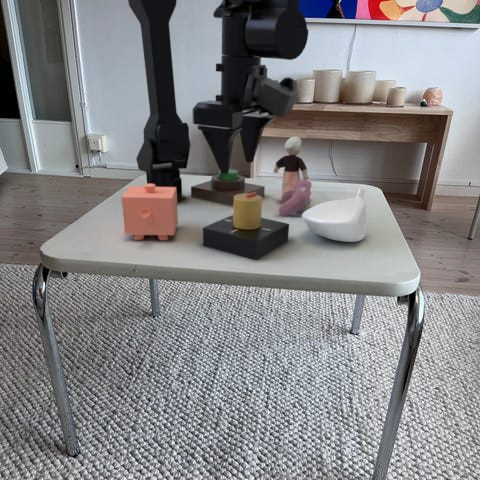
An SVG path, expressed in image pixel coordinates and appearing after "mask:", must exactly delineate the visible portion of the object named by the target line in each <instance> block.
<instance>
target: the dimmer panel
mask: <svg viewBox="0 0 480 480" xmlns="http://www.w3.org/2000/svg"><path fill="white" fill-rule="evenodd" d="M289 230H290V223H286V222H283V221H277V220H273V219H270V218H269V219H268V218H265V217H261V226H260V227H259V228H257V229H252V230H244V229H238V228H236V227H234V226H233V214H231V215H229V216H227V217H225V218H222V219H219V220H217V221H215V222H212V223H211V224H208V225H205V226H203V227H202V246H204V247H207V248H211V249H215V250H217V251H218V250H219V251H222V252H225V253H229V254H233V255H237V256H240V257H243V258H248V259H251V260H256V261H257V260H259V259H262V257H264V256H266V255H267V254H269V253H270V252H272V251H274V250H275V249H277V248H279V247H281V246H282V245H284V244H285V243H288V242H289Z"/></svg>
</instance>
